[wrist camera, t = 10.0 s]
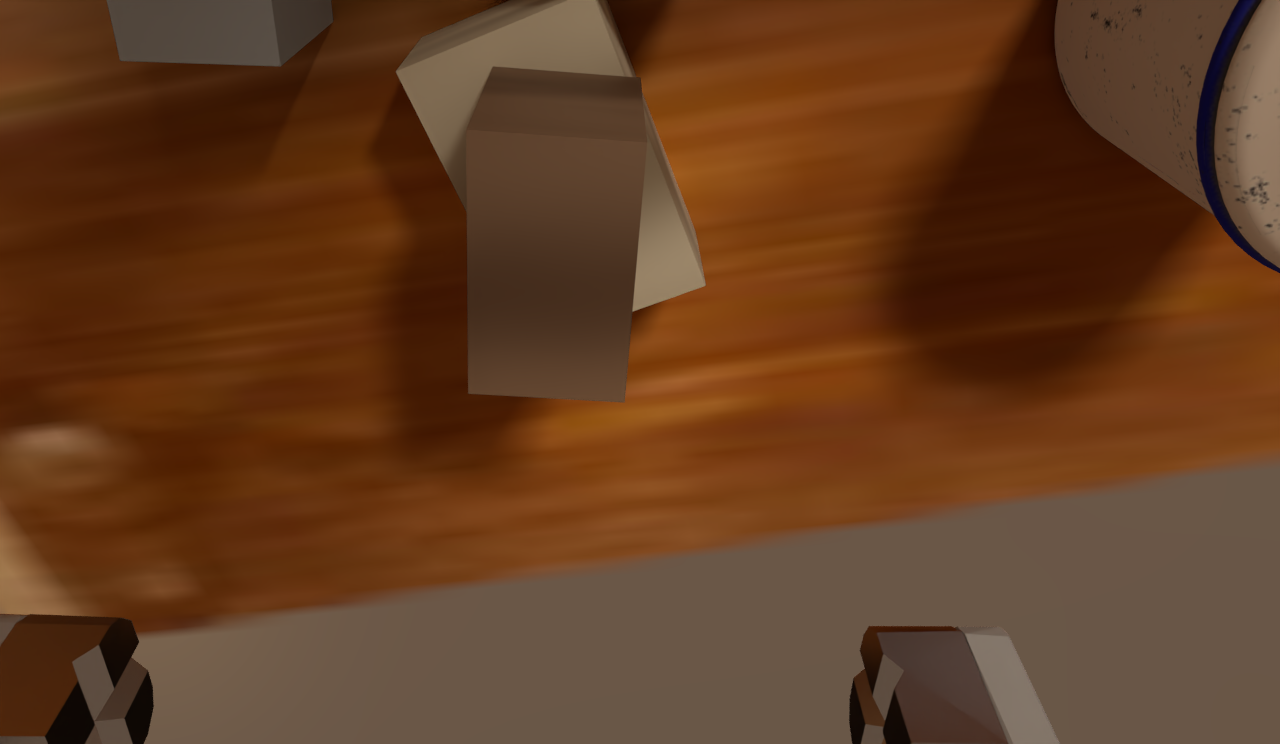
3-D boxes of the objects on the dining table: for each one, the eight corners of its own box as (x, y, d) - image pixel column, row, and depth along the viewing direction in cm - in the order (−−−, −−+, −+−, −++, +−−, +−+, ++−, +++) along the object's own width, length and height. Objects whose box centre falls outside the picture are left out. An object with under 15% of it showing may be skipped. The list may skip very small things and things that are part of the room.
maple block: (423, 35, 27) (395, 71, 23) (593, -37, 26) (591, -10, 22) (543, 283, 31) (534, 346, 27) (694, 228, 30) (705, 285, 26)
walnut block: (492, 66, 23) (465, 129, 19) (640, 77, 23) (647, 142, 19) (491, 294, 26) (468, 393, 22) (622, 302, 27) (624, 402, 22)
